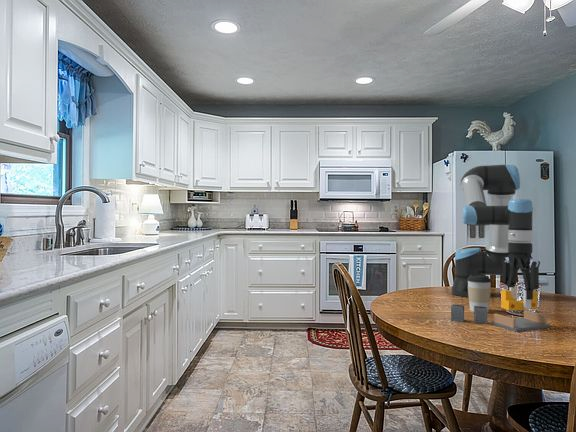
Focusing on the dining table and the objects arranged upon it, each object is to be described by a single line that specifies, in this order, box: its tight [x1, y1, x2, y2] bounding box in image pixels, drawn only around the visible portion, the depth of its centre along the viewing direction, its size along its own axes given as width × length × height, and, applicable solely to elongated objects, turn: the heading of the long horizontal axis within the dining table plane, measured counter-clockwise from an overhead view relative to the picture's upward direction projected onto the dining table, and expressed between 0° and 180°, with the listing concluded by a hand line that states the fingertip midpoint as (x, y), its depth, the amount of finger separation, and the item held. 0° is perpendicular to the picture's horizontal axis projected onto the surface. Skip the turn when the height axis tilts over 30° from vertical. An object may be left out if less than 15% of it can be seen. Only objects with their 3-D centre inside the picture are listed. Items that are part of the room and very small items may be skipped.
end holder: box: [491, 309, 550, 332], centre depth 139 cm, size 16×10×4 cm, turn 110°
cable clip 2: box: [473, 306, 488, 325], centre depth 143 cm, size 4×3×6 cm
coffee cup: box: [467, 274, 492, 313], centre depth 161 cm, size 9×9×15 cm
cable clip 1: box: [450, 303, 465, 323], centre depth 146 cm, size 4×3×6 cm
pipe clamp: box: [500, 289, 539, 311], centre depth 139 cm, size 12×4×6 cm, turn 94°
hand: (519, 306), depth 139 cm, fingers closed on pipe clamp, 5 cm apart
